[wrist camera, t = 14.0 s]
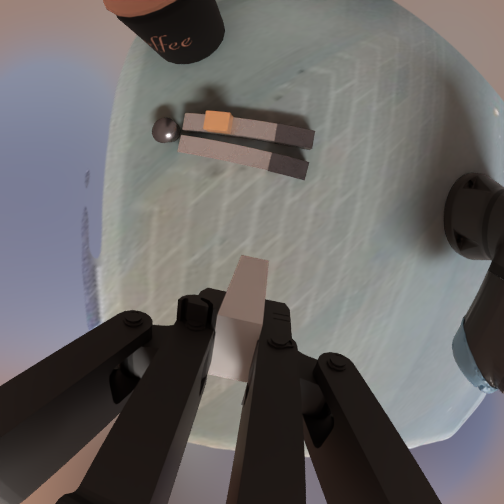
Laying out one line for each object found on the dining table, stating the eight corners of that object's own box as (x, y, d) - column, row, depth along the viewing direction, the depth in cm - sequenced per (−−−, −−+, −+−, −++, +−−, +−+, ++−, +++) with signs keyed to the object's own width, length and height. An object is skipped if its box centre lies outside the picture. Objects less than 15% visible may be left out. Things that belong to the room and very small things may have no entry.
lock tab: (208, 131, 34) (202, 128, 31) (211, 114, 33) (206, 110, 30) (230, 134, 34) (226, 131, 31) (233, 117, 33) (230, 112, 30)
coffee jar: (146, 52, 32) (85, 5, 15) (187, 5, 30) (149, -57, 12) (197, 77, 34) (149, 25, 17) (240, 28, 31) (222, -44, 14)
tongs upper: (182, 152, 37) (177, 152, 35) (186, 136, 37) (181, 134, 34) (302, 179, 38) (304, 180, 35) (306, 162, 37) (309, 162, 34)
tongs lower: (158, 143, 37) (150, 141, 34) (163, 114, 36) (155, 110, 33) (306, 163, 37) (309, 163, 34) (312, 133, 36) (315, 130, 33)
